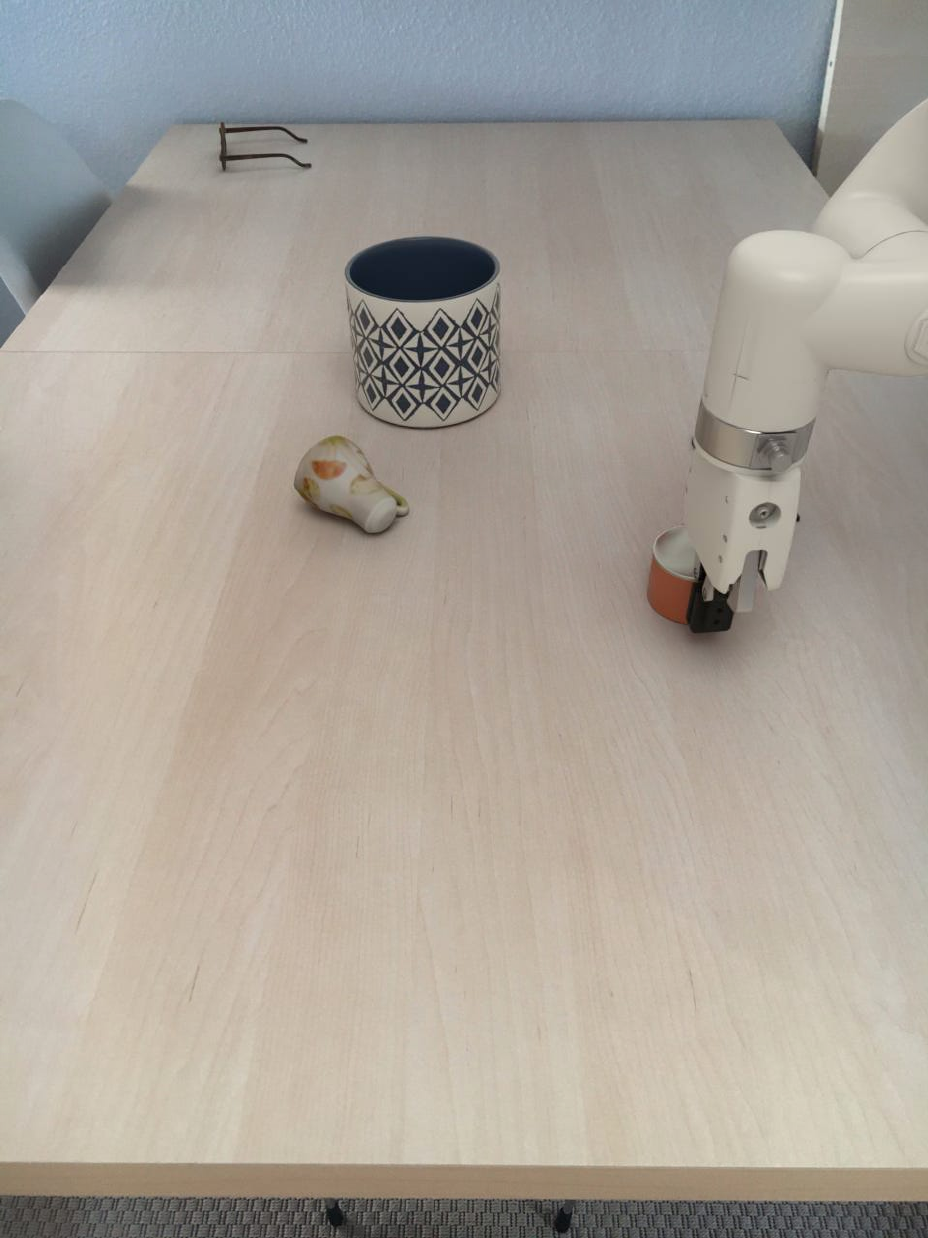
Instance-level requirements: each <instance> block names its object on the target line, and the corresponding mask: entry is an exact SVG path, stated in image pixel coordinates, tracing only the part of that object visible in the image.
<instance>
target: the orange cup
mask: <svg viewBox="0 0 928 1238" xmlns="http://www.w3.org/2000/svg"><path fill="white" fill-rule="evenodd" d="M695 553H696V550H695V548H694V545H693V543H692V541H691V539H690V536H689V534H688V532H687V529H686V527H685V524H683V525H677V526H674V527H673V526H672V527H671V528H669V529H666V530H664V531H663V532H661V533H659V535H658V536H657V537H656V538H655V540H654V542H653V545H652V557H651V562H650V571H649V577H648V584H647V589H646V591H647V592H646V595H647V599H648V602H649V604H650V606H651V607H652V608H653V609H654V611H655V612H656V613H658V614H659V615H661V616H662V617H664V618H665V619H667V620H670V621H671V622H672V621H673V622H676V623H680V624H683V625H684V624H685V625H689V624H688V623H687V620H686V613H687V608H688V603H689V599H690V594H691V589H692V584H693V583H699V581H695V579H694V576H693V568H694V560H695Z"/></svg>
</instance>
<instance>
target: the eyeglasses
mask: <svg viewBox="0 0 928 1238" xmlns="http://www.w3.org/2000/svg"><path fill="white" fill-rule="evenodd" d="M259 131H282V132H284V133H286V134H287V135H288V136H289V137H291V138H292V139H294V140H295V141H297V142H300V143H306V144H307V143H308V142H309V141H308V139H307V138H303V137H299V136H297V135H296V134H295V133H294V132H292V131H290V130H289V129H288V128H286V127H283V126H281V125H280V126H277V125H263V126H239V127H226V125H225V122H224V121H221V122H220V127H219V128H218V133H219V135H220V143H219V144H220V147H221V148H220V153H219V157H218V160H219V162H221V167H222V170H223V171H226V168H227V162H232V161H233V162H234V161H244V160H245V161H246V160H257V159H269V158H286V159H288V160H290V161H291V162H293V163H294V164H296V165H297V166H298V167H300V168H305V169H307V168H311V167H312V163H310V162H307V163H304V162H303V163H302V162H300V161H299V160H298V159H296V158H295V157H293V156H292V155H290V154H288V153H283V152H280V153H279V152H278V153H277V152H275V153H274V152H272V153H271V152H269V153H248V154H247V153H245V154H228V155H227V151H228V149H227V139H226V138H227V137H226V134H237V133H249V132H259Z"/></svg>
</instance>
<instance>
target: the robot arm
mask: <svg viewBox="0 0 928 1238" xmlns="http://www.w3.org/2000/svg"><path fill="white" fill-rule="evenodd" d="M715 313H716V314H715V319H714V324H713V331H712V336H711V341H710V346H709V352H708V358H707V364H706V368H705V374H704V379H703V385H702V391H701V395H700V400H699V405H698V411H697V417H696V422H695V427H694V432H693V436H694V437H692V439H693V443H694V446H695V448H694V452H693V455H692V460H691V463H690V468H689V472H688V476H687V481H686V485H685V492H684V495H683V496H684V497H683V506H682V519H683V524H684V525H685V527H686V529H687V532H688V534H689V536H690V539H691V541H692V543H693V545H694V548H695V550H696V553H695V560H694V568H693V576H694V579H695V581H699V583H693V584H692V589H691V594H690V599H689V603H688V608H687V613H686V620H687V623H688V624H687V625H689V630H690V633H691V634H693V635H697V634H710V633H720V632H728V631H729V630H730V629H731V628H732V627H731V626H732V623H733V619H734V615H735V614H741V613H751V612H753V610H754V604H755V596H756V588H757V579H758V575H759V577H760V579H761V580H762V582H763V584H764V586H765V587H766V590H767V591H777V590H778V589H780V587H781V585H782V583H783V581H784V577H785V573H786V569H787V566H788V560H789V556H790V553H791V548H792V545H793V538H794V533H795V528H796V523H797V521H796V518H797V513H798V511H799V502H800V493H801V481H802V479H801V478H802V477H801V476H802V472H801V469H800V465H802V463H803V462H804V460H805V457H806V455H807V451H808V448H809V444H810V441H811V438H812V433H813V430H814V426H815V422H816V419H817V415H818V411H819V407H820V404H821V400H822V398H823V394H824V390H825V386H826V383H827V379H828V377H829V373H830V371H832V370H842V371H849V372H857V373H858V372H859V373H864V374H865V373H866V374H872V375H879V376H889V377H898V378H899V377H901V378H915V377H925V376H928V97H927V98H926V99H925V100H923V101H922V102H920V103H919V104H918V105H916V106H915V107H914V108H912V109H911V110H910V111H909V112H907V113H906V114H904V116H902V117H901V118H900V119H899V120H897V122H896V123H894V125H892V126H891V127H890V128H889V129H888V130H887V131H886V132H884V133H883V135H882V136H881V137H880V138H879V139H878V140H877V142H876V143H874V145H873V146H872V147H871V148H870V149H869V150H868V151H867V154H865V155H864V157H862V159H861V160H860V161H859V162H858V163H857V165H856V166H855V167H854V169H853V170H852V171H851V172H850V174H848V176H847V177H846V178H845V179H844V180H843V182H842V183H841V184H840V186H839V187H838V188H837V189H836V190H835V192H834V193H833V194H832V196H831V197H830V198H829V200H828V201H827V202H826V203H825V205H824V206H823V208H822V209H821V211H820V212H819V214H818V216H817V218H816V219H815V220H814V223H813V224H812V226H811V227H810V229H809V232H808V231H801V230H792V229H775V230H774V229H773V230H765V231H759V232H756V233H753V234H751V235H748V236H747V237H745V238H743V239H742V240H740V241H739V242H738V243H737V244H736V245H735V246H734V247H733V249H732V250H731V251H730V253H729V255H728V258H727V260H726V262H725V267H724V272H723V276H722V281H721V287H720V293H719V298H718V303H717V308H716V312H715ZM694 446H693V447H694Z"/></svg>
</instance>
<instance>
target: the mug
mask: <svg viewBox="0 0 928 1238" xmlns="http://www.w3.org/2000/svg"><path fill="white" fill-rule="evenodd" d="M293 487H294V489H295V491H296V492H297V493H298V494H299V495H300V497H301V498H302V499H303V500H304V501H305V502H306V503H308V505H310V506H312V507H313V508H315V509H317V510H320V511H323V512H326V513H329V514H333V515H336V516H340V517H344V518H347V519H349V520H350V521H353V522H354V523H355V524H357V525H358V526H359V527H360V528H362V529H363V530H364V531H365V532H366V533H368V534H369V533H370V534H373V533H381V532H383V531H385V530H386V529H387V528H388V527H390V525H391V524H392V523H393V522H394V520H395V518H396V516H397V515H398V516H401V517H402V516H406V515H407V514H408V513H409V511H410V504H409V502H408V501H407V500H406V499H405V498H404V497H403V496H402V495H400V494H398V493H396V492H395V491H394V490H392V489H390V488H389V487H387V486H386V485H384V484H383V483H382V482H380V480H378V479H377V477H376V475H375V473H374V470H373V469H372V466H371V464H370V462H369V460H368V458H367V456H366V455H365V453H364V451H363V450H362V449H361V447H359V446H358V445H357V444H356V443H355V442H354V441H352V440H350V439H349V438H347V437H345V436H342V435H331V436H328V437H325V438H323V439H322V440H320V441H318V442H317V443H315V444H314V445H313V446H311V447H310V448H309V449H308V450H307V452H305V454H304V455H303V456H302V458H301V460H300V462H299V464H298V467H297V469H296V471H295V475H294V481H293Z"/></svg>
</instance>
